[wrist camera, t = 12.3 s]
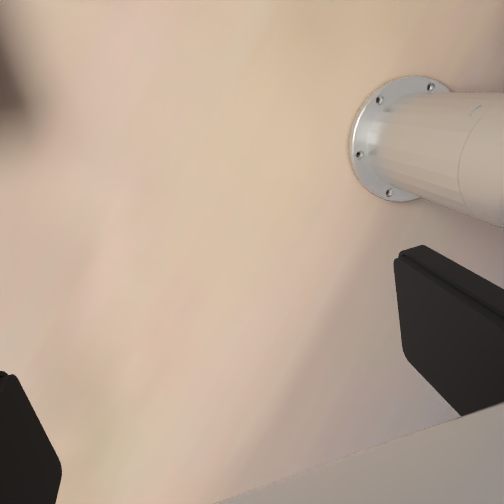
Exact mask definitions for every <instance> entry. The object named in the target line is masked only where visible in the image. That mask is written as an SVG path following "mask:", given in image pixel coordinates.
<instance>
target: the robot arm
mask: <svg viewBox="0 0 504 504" xmlns="http://www.w3.org/2000/svg"><path fill="white" fill-rule="evenodd" d="M427 86H428V88H427ZM376 98H378V101H377V102H376ZM357 152H358V156H356V154H357ZM349 157H350V162H351V165H352V169H353V171H354V173H355V175H356V177H357V179H358V180H359V181H360V183H361V184H362V185H363V186H364V187H365V188H366V189H367V190H368V191H370V192H371V193H372V194H374V195H376V196H378V197H380V198H383V199H385V200H389V201H397V202H402V201H410V200H414V199H417V198H420V197H422V198H425V199H427V200H430V201H432V202H435V203H437V204H440V205H443V206H445V207H448V208H450V209H453V210H456V211H458V212H461V213H463V214H466V215H468V216H471V217H474V218H476V219H479V220H482V221H485V222H487V223H490V224H493V225H495V226H498V227H502V228H504V92H479V93H452V92H451V91H450V90H449V89H448V88H447V87H446V86H445V85H443V84H441V83H440V82H438V81H437V80H434V79H431V78H428V77H423V76H407V77H402V78H398V79H394V80H392V81H390V82H388V83H386V84H383V85H382V86H381V87H379V88H378V89H377V90H375V91H374V92H373V93H372V94H371V95H370V96H369V97H368V98H367V99H366V100H365V102H364V103H363V105H362V106H361V108H360V109H359V111H358V113H357V115H356V117H355V119H354V121H353V124H352V128H351V132H350V137H349ZM387 190H388V191H387ZM386 191H387V193H386ZM394 274H395V283H396V292H397V302H398V311H399V320H400V330H401V339H402V347H403V352H404V354H405V357H406V358H407V360H408V361H409V362H410V363H411V365H412V366H413V367H414V368H415V369H416V370H417V371H418V372H419V373H420V374H421V375H422V376H423V377H424V378H425V379H426V380H427V381H428V382H429V383H430V384H431V385H432V386H433V387H434V388H435V390H436V391H437V392H438V393H439V394H440V395H441V396H442V397H443V398H444V399H445V400H446V401H447V402H448V403H449V404H450V405H451V406H452V407H453V408H454V409H455V410H456V411H457V412H458V413H459V415H460V416H461V417H458V418H456V419H453V420H450V421H447V422H444V423H441V424H438V425H435V426H433V427H430V428H427V429H424V430H421V431H418V432H415V433H412V434H410V435H407V436H404V437H401V438H398V439H395V440H392V441H389V442H387V443H384V444H381V445H378V446H375V447H372V448H370V449H367V450H364V451H361V452H358V453H355V454H353V455H350V456H347V457H344V458H341V459H338V460H336V461H333V462H330V463H327V464H324V465H322V466H319V467H316V468H313V469H310V470H307V471H305V472H302V473H299V474H296V475H293V476H290V477H288V478H285V479H282V480H279V481H276V482H273V483H271V484H268V485H265V486H262V487H259V488H256V489H254V490H251V491H248V492H245V493H242V494H240V495H237V496H234V497H231V498H228V499H225V500H223V501H220V502H217V503H214V504H504V289H502V288H500V287H499V286H497V285H495V284H493V283H491V282H490V281H488V280H486V279H484V278H482V277H481V276H479V275H477V274H475V273H473V272H472V271H470V270H468V269H466V268H464V267H463V266H461V265H459V264H457V263H455V262H454V261H452V260H450V259H448V258H446V257H445V256H443V255H441V254H439V253H437V252H436V251H434V250H432V249H430V248H428V247H427V246H425V245H420V246H417V247H413V248H410V249H407V250H403V251H401V252H400V253H399V257H398V258H396V259H395V260H394ZM61 476H62V469H61V463H60V461H59V458H58V456H57V454H56V452H55V450H54V449H53V447H52V445H51V443H50V441H49V439H48V437H47V435H46V433H45V431H44V429H43V427H42V425H41V423H40V421H39V419H38V417H37V415H36V413H35V411H34V409H33V407H32V406H31V404H30V402H29V400H28V398H27V396H26V394H25V392H24V390H23V388H22V386H21V384H20V382H19V380H18V378H17V377H16V376H15V375H13V374H11V375H8V374H7V373H5V372H4V371H0V504H55V503H56V499H57V494H58V490H59V486H60V481H61Z"/></svg>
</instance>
